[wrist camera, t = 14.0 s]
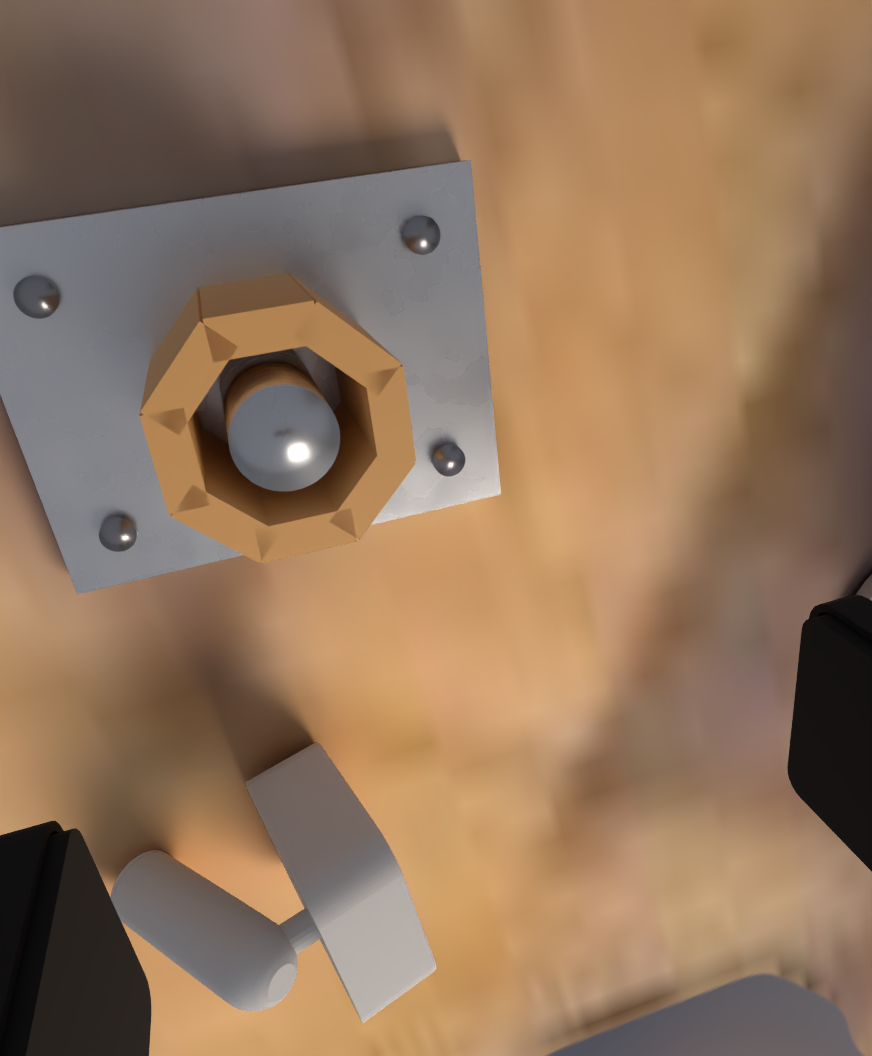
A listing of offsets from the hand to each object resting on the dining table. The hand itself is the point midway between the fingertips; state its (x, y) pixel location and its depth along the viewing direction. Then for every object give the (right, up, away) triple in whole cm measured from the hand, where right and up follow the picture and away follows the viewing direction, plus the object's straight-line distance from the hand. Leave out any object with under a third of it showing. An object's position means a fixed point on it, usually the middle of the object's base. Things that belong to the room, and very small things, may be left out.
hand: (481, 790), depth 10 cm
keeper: (-7, +9, +17) cm, 21 cm away
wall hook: (-9, -10, +26) cm, 29 cm away
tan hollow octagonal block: (-6, +8, +17) cm, 20 cm away
